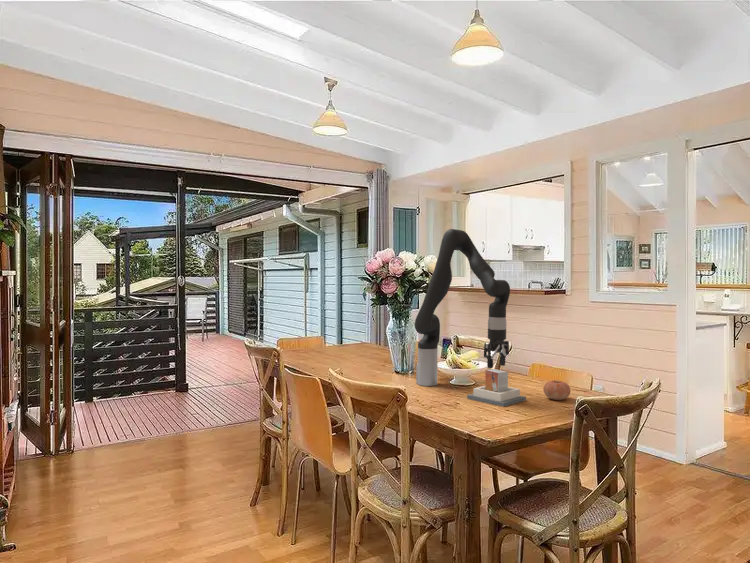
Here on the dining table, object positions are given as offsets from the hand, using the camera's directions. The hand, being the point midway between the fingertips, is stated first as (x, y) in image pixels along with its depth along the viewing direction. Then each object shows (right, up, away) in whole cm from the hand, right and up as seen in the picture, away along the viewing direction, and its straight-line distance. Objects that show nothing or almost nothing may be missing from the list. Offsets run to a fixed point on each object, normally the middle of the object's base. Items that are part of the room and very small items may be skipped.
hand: (496, 366), depth 217 cm
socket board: (0, -14, 0) cm, 14 cm away
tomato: (+26, -14, +1) cm, 29 cm away
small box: (0, -12, 0) cm, 12 cm away
